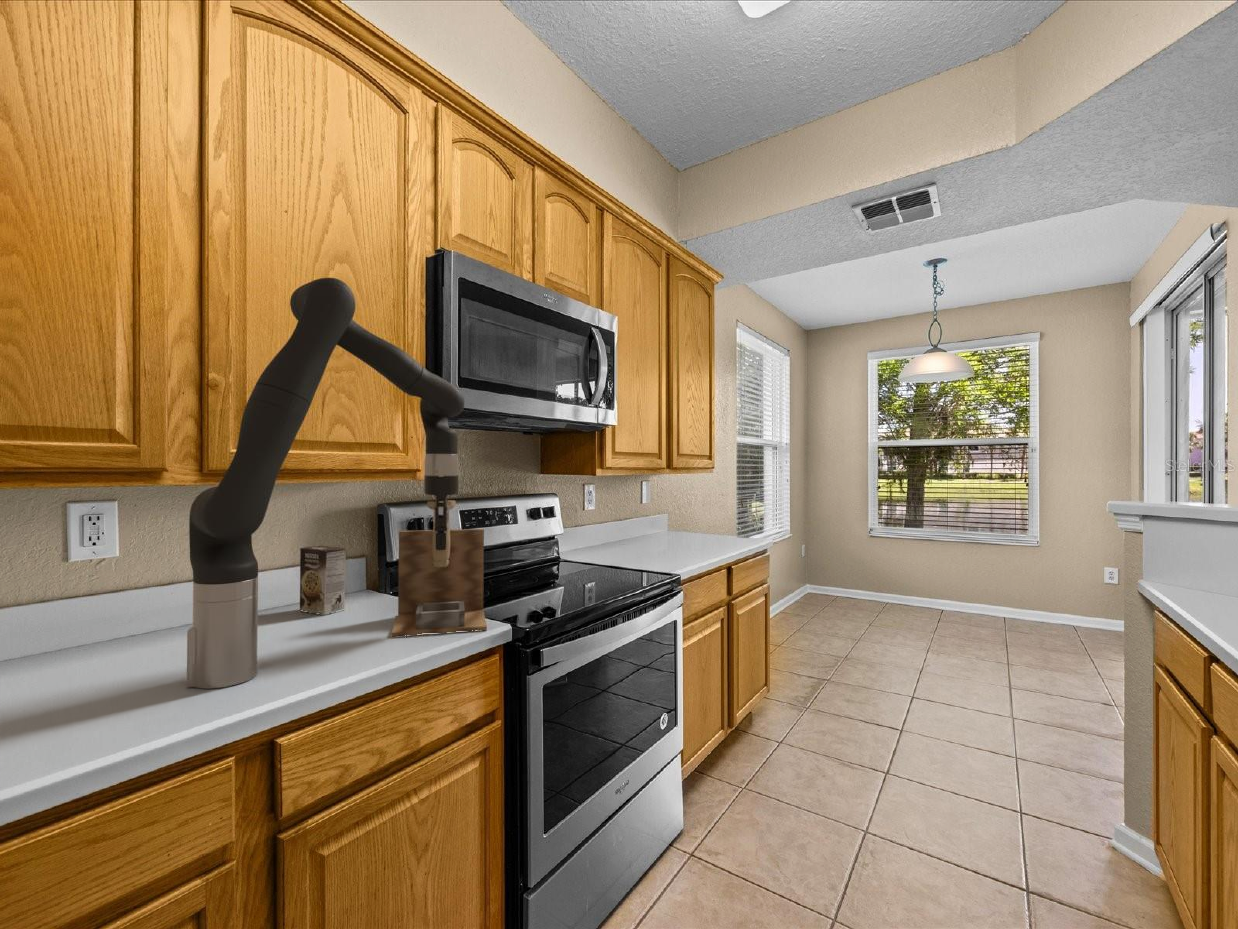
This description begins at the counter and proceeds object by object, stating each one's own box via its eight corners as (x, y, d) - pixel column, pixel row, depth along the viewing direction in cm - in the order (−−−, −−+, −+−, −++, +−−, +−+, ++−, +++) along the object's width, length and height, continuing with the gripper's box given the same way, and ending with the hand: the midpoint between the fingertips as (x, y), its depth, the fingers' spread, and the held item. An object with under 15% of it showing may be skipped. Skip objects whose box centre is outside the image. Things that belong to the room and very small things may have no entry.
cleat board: (391, 637, 122) (392, 539, 122) (399, 615, 141) (400, 530, 141) (486, 630, 128) (487, 537, 128) (482, 610, 146) (483, 528, 146)
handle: (459, 565, 132) (459, 500, 132) (437, 569, 127) (437, 502, 127) (444, 563, 135) (445, 500, 135) (422, 567, 129) (423, 501, 129)
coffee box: (298, 612, 143) (298, 547, 143) (320, 606, 149) (321, 544, 149) (324, 616, 139) (324, 550, 139) (346, 610, 145) (346, 546, 145)
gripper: (425, 473, 137) (425, 544, 137) (422, 474, 123) (422, 553, 123) (458, 473, 139) (457, 543, 139) (458, 474, 125) (458, 552, 125)
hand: (441, 548), depth 131 cm, fingers closed on handle, 4 cm apart
